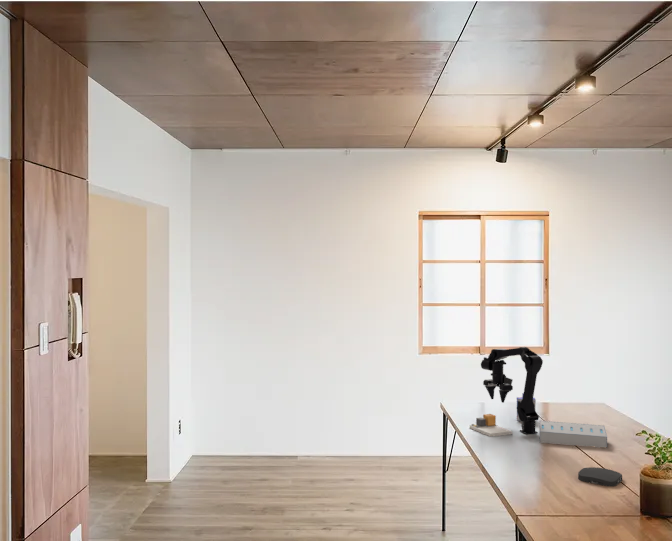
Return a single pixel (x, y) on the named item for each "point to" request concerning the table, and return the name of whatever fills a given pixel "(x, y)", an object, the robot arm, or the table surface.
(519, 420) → the ink cartridge box
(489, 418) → the cap
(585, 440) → the warehouse
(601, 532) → the table surface
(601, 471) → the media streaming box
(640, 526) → the table surface
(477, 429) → the board
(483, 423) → the block
